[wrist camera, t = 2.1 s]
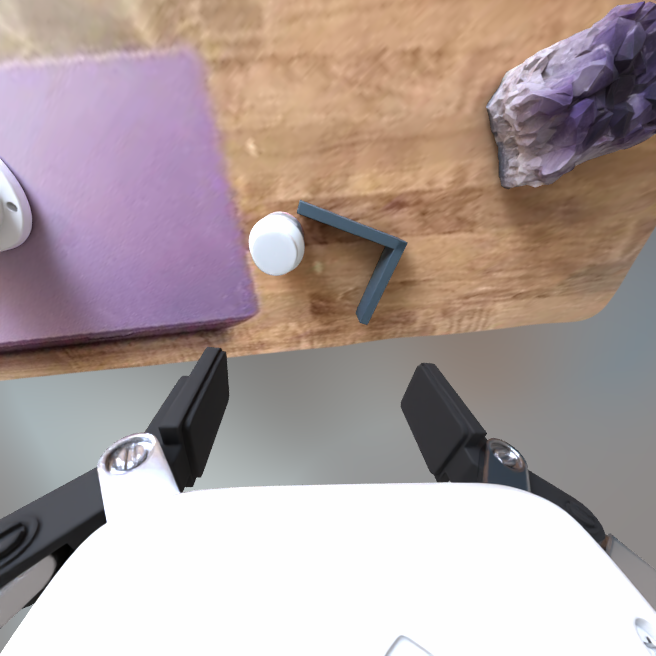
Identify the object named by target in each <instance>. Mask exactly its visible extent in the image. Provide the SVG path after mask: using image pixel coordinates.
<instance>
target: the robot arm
mask: <svg viewBox="0 0 656 656" xmlns="http://www.w3.org/2000/svg"><path fill="white" fill-rule="evenodd" d="M31 228H32V214H31V209H30V205H29V203H28V200H27V198H26V195H25V193H24V191H23V189H22V188H21V186H20V184H19V182H18V181H17V179H16V178H15V177H14V175H13V174H12V173H11V171H10V170H9V169H8V167H7V166H6V165H5V164H4V163H3V162H2V161H1V160H0V251H6V250H9V249H13V248H16V247H18V246H19V245H21V244H22V243H24V241H25V240H26V239H27V238H28V237H29V234H30V231H31ZM228 400H229V385H228V370H227V356H226V352H224V351H222V349H221V348H214V347H207V348H206V349H205V351H204V352H203V354H202V356H201V357H200V359H199V361H198V362H197V364H196V366H195V367H194V369H193V371H192V372H191V374H190V375H189V376H182V377H181V378H180V379H179V380H178V382H177V383H176V385H175V386H174V388H173V389H172V391H171V393H170V394H169V396H168V397H167V399H166V400H165V402H164V403H163V405H162V406H161V408H160V409H159V411H158V413H157V414H156V415H155V417H154V419H153V420H152V422H151V423H150V425H149V426H148V428H147V429H146V431H145V432H144V433H136V434H132V435H129V436H126V437H124V438H122V439H120V440H118V441H116V442H115V443H114V444H112V445H111V446H110V447H109V448H107V449H106V451H105V452H104V453H103V454H102V455H101V457H100V459H99V461H98V466H97V467H96V468H94V469H92V470H91V471H89V472H87V473H85V474H83V475H81V476H79V477H78V478H76V479H74V480H72V481H70V482H68V483H67V484H65V485H63V486H61V487H59V488H57V489H55V490H54V491H52V492H50V493H48V494H46V495H44V496H43V497H41V498H39V499H37V500H35V501H33V502H31V503H30V504H28V505H26V506H24V507H22V508H20V509H19V510H17V511H15V512H13V513H11V514H9V515H7V516H6V517H4V518H2V519H0V629H1V628H2V627H3V626H4V625H5V624H6V623H7V622H8V621H9V620H10V619H11V618H12V617H13V616H14V615H15V614H16V613H17V612H19V611H20V610H21V609H23V608H25V607H28V606H30V605H32V604H34V603H35V602H36V603H35V604H34V606H33V607H32V608H31V610H30V611H29V613H28V614H27V616H26V617H25V619H24V620H23V621H22V623H21V624H20V626H19V627H18V629H17V630H16V632H15V633H14V635H13V636H12V638H11V639H10V640H9V642H8V644H7V645H6V646H5V648H4V650H3V651H2V652H1V654H0V656H656V570H655V569H654V568H653V567H651V566H650V565H649V564H648V563H646V562H645V561H644V560H642V559H641V558H640V557H639V556H638V555H636V554H635V553H634V552H633V551H632V550H630V549H629V548H628V547H627V546H625V545H624V544H623V543H622V542H620V541H619V540H618V539H617V538H615V537H614V536H613V535H611V534H608V535H606V534H605V532H604V530H603V527H602V525H601V524H600V522H599V521H598V519H597V518H596V517H595V516H594V515H593V513H592V512H591V511H590V510H589V509H588V508H586V507H585V506H584V505H583V504H582V503H580V502H579V501H577V500H576V499H575V498H573V497H571V496H570V495H568V494H567V493H565V492H563V491H562V490H560V489H558V488H557V487H555V486H553V485H552V484H550V483H548V482H547V481H545V480H544V479H542V478H540V477H539V476H537V475H535V474H534V473H532V472H531V471H529V470H528V466H527V463H526V461H525V459H524V458H523V456H522V455H521V454H520V453H519V452H518V450H516V449H515V448H514V447H513V446H511V445H510V444H508V443H507V442H505V441H502V440H500V439H496V438H491V439H489V440H487V439H486V438H485V436H486V434H487V433H486V431H485V430H484V429H483V427H482V426H481V425H480V423H479V422H478V421H477V419H476V418H475V417H474V415H473V414H472V413H471V412H470V410H469V409H468V408H467V406H466V405H465V404H464V402H463V401H462V400H461V398H460V397H459V396H458V394H457V393H456V392H455V390H454V389H453V388H452V386H451V385H450V384H449V383H448V381H447V380H446V379H445V377H444V376H443V375H442V373H441V372H440V371H439V369H438V368H437V367H436V366H435V364H431V363H421V364H420V365H419V366H417V368H416V370H415V372H414V375H413V377H412V379H411V381H410V383H409V385H408V388H407V390H406V392H405V394H404V397H403V399H402V401H401V408H402V411H403V413H404V415H405V418H406V420H407V422H408V424H409V426H410V429H411V431H412V433H413V435H414V437H415V440H416V442H417V444H418V446H419V448H420V451H421V453H422V455H423V457H424V460H425V462H426V464H427V466H428V469H429V471H430V472H431V473H432V474H434V476H435V478H436V481H437V482H448V481H449V480H450V482H451V483H390V484H339V485H295V486H259V487H235V488H216V489H205V490H195V491H189V492H183V490H184V488H185V487H193V485H194V482H195V480H196V477H201V476H202V474H203V471H204V469H205V466H206V463H207V460H208V457H209V454H210V451H211V449H212V446H213V443H214V440H215V437H216V434H217V431H218V429H219V426H220V423H221V420H222V417H223V415H224V412H225V409H226V406H227V403H228Z"/></svg>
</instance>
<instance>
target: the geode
mask: <svg viewBox="0 0 656 656" xmlns="http://www.w3.org/2000/svg"><path fill="white" fill-rule="evenodd" d="M486 108H487V111H488V115H489V120H490V126H491V131H492V133H493V135H494V137H495V141H496V143H497V146H498V159H499V178H500V181H501V186H502V187H504V188H506V189H510V188H512V187H518V186H523V185H530V186H533V187H538V186H540V185H549V184H552V183H553V182H555V181H556V180H557V179H558V178H560V177H561V176H562V175H563V174H565V173H567V172H570V171H571V170H573V169H574V167H575V166H576V165H578V164H581V163H583V162H585V161H587V160H590V159H593V158H596V157H599V156H602V155H605V154H609V153H612V152H615V151H618V150H620V149H627V148H630V147H632V146H635V145H637V144H639V143H641V142H643V141H645V140H647V139H648V138H650V137H651V136H653V135H654V134H656V4H655V3H652V2H648V3H646V4H645V1H644V2H639V3H634V4H628V5H617V6H616V7H615V8H613V9H612V10H611V11H610V12H609V13H608V14H607V15H606V16H605V17H604V18H603V19H602V20H600V21H598V22H596V23H595V24H594V25H593V26H592V27H591V28H589V29H586V30H583V31H581V32H579V33H576V34H574V35H573V36H571V37H569V38H567V39H565V40H562V41H560V42H558V43H556V44H554V45H552V46H550V47H548V48H546V49H543V50H540V51H539V52H537V53H536V54H535V55H533V56H532V57H530V58H528V59H526V61H525V62H524V63H522V64H521V65H519V66H517V67H515V68H513V69H511V70H510V71H508V72H507V73H506V74H505V76H504V77H503V79H502V82H501V84H500V86H499V88H498V89H497V91H496V92H495V93H494V95H493V96H492V98H491V99H490V101H489V102H488V104H487V106H486Z"/></svg>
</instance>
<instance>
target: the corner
mask: <svg viewBox="0 0 656 656" xmlns="http://www.w3.org/2000/svg"><path fill="white" fill-rule="evenodd" d="M297 213H298V214H300V215H303V216H306V217H309V218H311V219H314V220H317V221H319V222H322V223H325V224H327V225H330V226H333V227H335V228H338V229H341V230H343V231H346V232H349V233H352V234H354V235H357V236H360V237H362V238H365V239H368V240H370V241H373V242H376V243H378V244H381V245H384V246H385V248H384V250H383V252H382V255H381V257H380V259H379V261H378V264H377V266H376V268H375V270H374V273H373V275H372V277H371V279H370V281H369V284H368V286H367V288H366V290H365V293H364V295H363V297H362V299H361V301H360V304H359V306H358V308H357V310H356V315H357V317H358V320H359V322H360V323H362V324H366V325H368V323H369V321H370V319H371V317H372V314H373V312H374V310H375V308H376V306H377V304H378V302H379V300H380V298H381V296H382V294H383V292H384V290H385V288H386V286H387V284H388V282H389V280H390V278H391V276H392V274H393V272H394V270H395V268H396V266H397V264H398V262H399V259H400V257H401V255H402V253H403V251H404V249H405V247H406V245H407V242H405V241H403V240H401V239H399V238H397V237H394V236H392V235H389V234H387V233H384V232H381V231H379V230H376V229H374V228H371V227H369V226H366V225H363V224H361V223H358V222H356V221H353V220H350V219H348V218H345V217H343V216H340V215H338V214H335V213H332V212H330V211H327V210H325V209H322V208H320V207H317V206H314V205H312V204H309V203H307V202H304V201H301V200H300V202H299V206H298V210H297Z"/></svg>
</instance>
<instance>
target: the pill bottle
mask: <svg viewBox="0 0 656 656" xmlns="http://www.w3.org/2000/svg"><path fill="white" fill-rule="evenodd" d="M304 247H305V244H304V233H303V229H302V227H301V225H300V223H299V221H298V220H297V219H296V218H295V217H293V216H292V215H290V214H288V213H285V212H274V213H271V214H269V215H268V216H266V217H265V218H263V219H262V220H260V221H259V222H258V223H257V224H256V225H255V226H254V227H253V229H252V231H251V233H250V237H249V248H250V252H251V255H252V258H253V260H254V262H255V264H256V265H257V267H258V268H259V269H260V270H261V271H263V272H265V273H266V274H269V275H274V276H279V275H283V274H286V273H288V272H290V271H292V270H293V269H295V268H296V267H297V266H298V265H299V263H300V262H301V260H302V258H303V255H304Z"/></svg>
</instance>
